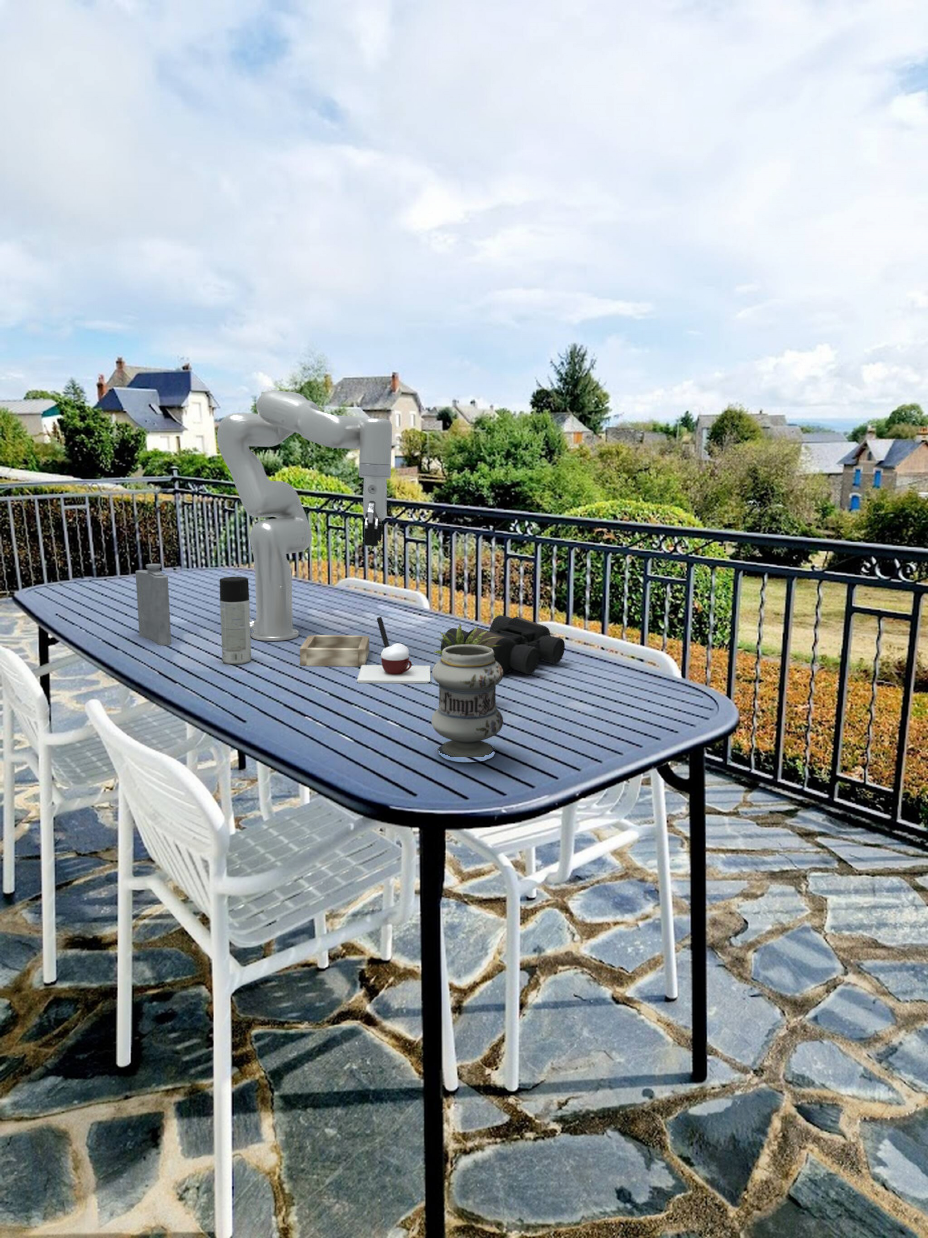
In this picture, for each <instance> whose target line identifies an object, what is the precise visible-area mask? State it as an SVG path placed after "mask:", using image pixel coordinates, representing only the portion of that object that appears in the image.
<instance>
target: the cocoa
mask: <svg viewBox="0 0 928 1238" xmlns="http://www.w3.org/2000/svg"><path fill="white" fill-rule="evenodd" d="M376 621H377V624H378V629H379V632H380V635H381V639H382V643H383V646H384V648H383V650H382V651H381V653H380V659H381V660H380V661H381V665H382V667H383V669H384V670H385V672H387V673H388V674H393V675H397V674H402V673H404V672H406V671H408V670H409V669H410V668H411V666H413V664H412V661H411V660H410V655H409V654H410V653H409V652H410V651H409V648H408V647H407V646H406V645H404V644H402V643H400V642H396V643H393V644H392V645H391V646H390V642H389V638H388V635H387V632H386V627H385V625H384V621H383V618H382V616H379V617H376ZM408 666H409V667H408ZM407 667H408V668H407Z"/></svg>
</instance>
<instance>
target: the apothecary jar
mask: <svg viewBox="0 0 928 1238" xmlns="http://www.w3.org/2000/svg"><path fill="white" fill-rule="evenodd" d="M431 674H432V678H433V680H434V681H435V682H436V683H437V684H438V690H439V691H438V692H439V693H438V694H439V695H438V701H439V702H438V708H437V709H436V710H434V712H433V714H432V716H431V721H430V722H431V726H432V728H433V730H434V731H435V732H436V733H437V734H438V735H440V736H441V737H443V738H445V739H447V740H448V741H445V742H444V743H443V744H444V745H443V744H442V745H440V746H439V747H438V748H439V751H440V753H442V754H445V755H448V756H450V757H484V756H485V755H489V754H491V753H492V752H493V750H494V749H495V747H494V746H493V747H494V748H493V747H492V745H491V744H490V743H488V742H485V741H484V740H488V739H491V738H492V737H494V736H496V735H497V734H498V733H499V732H500V731H501V730H502V728H503V726H504V718H503V715H502V713H501V712H500V711H499V709H498V708H497V701H496V700H497V699H496V693H497V692H496V691H497V687H496V686H497V685H498V684H500V682H502V680H503V677H504V674H503V669H502V667H501V665H500V664H499V663H498V662H496V661H495V658H494V651H493V649H491V648H489V647H486V646H481V645H454V646H449V647H446V648H444V649H443V651H442V655H441V657H440V659H439V660H438V661H437V662H436V663H435V664H434V665H433V667H432V672H431Z"/></svg>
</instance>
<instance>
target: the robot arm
mask: <svg viewBox="0 0 928 1238" xmlns="http://www.w3.org/2000/svg"><path fill="white" fill-rule="evenodd" d="M255 406H256V407H255V408H256V412H257V413H251V412H235V413H230V414H227V415H226V416H224V417H223V418H222V419H221V421H220V423H219V425H218V427H217V428H218V429H217V433H216V436H217V437H216V440H217V446H218V450H219V452H220V454H221V457H222V459H223V460H224V461H223V462H224V463H225V464H226V466H227V468H228V470H229V472H230V474H231V477H232V480H233V483H234V485H235V488H236V491H237V493H238V497H239V498H240V502H241V504H242V506H243V509H244V511H245V512H246V513H247V515H249V516H250V517H253V518H269V519H263V520H261V521H258V522H257V523H255V525H254V526H253V527H252V528H251V530H250V534H249V542H250V548H251V551H252V556H253V564H254V580H255V581H254V583H255V614H256V616H255V617H256V618H255V620H252V621H250V630H252V631H250V637H251V639H252V638H253V639H255V640H257V641H258V640H259V641H265V642H267V641H268V642H278V641H279V642H280V641H286V640H287V641H288V640H292V639H296V638H298V637H299V630H297V629H296V628H293V627H294V624H293V623H294V622H293V621H294V620H293V618H294V617H293V579H292V575H293V574H292V569H291V565H290V563H289V561H288V558H287V556H286V554H294V553H301V552H303V551H305V550H307V549H308V548H309V547H310V545H311V544H312V539H313V538H312V535H313V534H312V530H311V526H310V524H309V523H310V522H309V521H308V518H307V515H306V513H305V510H304V508H303V504H302V501H301V499H300V497H299V494H298V492H297V490H296V489H295V488H294V487H293V486H292V485H291V484H290V483H288V482H285V481H282V480H281V481H280V480H274V481H273V480H271V479H269V478H268V476H267V474H266V471H265V468H264V466H263V463H262V462H261V460H260V459H259V457H258V456H257V455H256V454H255V453H254V452H253V451H252V450H251V449H250V448H249V447H265V448H266V447H267V448H269V447H274V446H278V445H280V444H281V443H283V442H284V441H285V440H286V439H287V438H289V437H290V436H292V435H293V434H294V433H297V434H299V435H300V436H301V437H302V438H303V439H305V440H306V441H310V442H312V443H314V444H315V443H316V444H318V445H321V446H323V447H327V448H332V449H354V450H355V449H357V450H359V464H358V466H359V468H358V477H359V478H361V479H362V478H363V492H362V493H363V494H362V495H363V496H362V498H363V501H362V502H363V503H362V505H363V506H362V510H363V518H364V519H365V526H364V537H363V542H364V543H363V544H364V546H368V547H369V546H370V547H378V545H379V542H381V541H382V537H383V536H382V535H383V524H382V521H384V520H385V519H386V518H387V516H388V515H387V510H388V509H387V503H388V501H387V500H388V499H387V497H388V496H387V495H388V493H387V492H388V491H387V490H388V487H387V484H388V483H387V479H391V477H392V475H391V474H392V471H391V470H392V447H393V446H392V444H393V443H392V441H393V424H392V422H391V420H389V419H386V418H376V417H372V418H371V417H367V418H366V417H365V418H364V417H359V416H350V415H349V416H347V415H336V414H330V413H326V412H324V411H321V410H320V408H319V406H318V405H317V403H315V402H314V401H312V400H309V399H307V398H306V397H305V396H304V395H302V394H300V393H298V392H293V391H292V392H291V391H286V390H285V391H284V390H283V391H282V390H273V389H272V390H267V391H264V392H263V393H262V394H260V395H259V397H258V398H257V400H256V405H255ZM271 517H275V518H271Z"/></svg>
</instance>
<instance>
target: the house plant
mask: <svg viewBox="0 0 928 1238" xmlns="http://www.w3.org/2000/svg"><path fill="white" fill-rule="evenodd" d="M477 628H479V625H477V626H476V627H475V628H473V629H474V630H473V632H472V633H471V634H470V635H469V637H468V638H467V640H466V642H465V644H464V645H476V644H477V643H478V642H479V641H480V640H481V638H482V636H483V635H484V634H485V633H486V632H487V631H490V629H488V630H487V631H485V632H483V633H481V634H480V635H478V636H477V637H476V639H474V641H473V640H472V638H473V636H474V633H475V632H476V630H477ZM456 629H457V633H456V639H455V637H454V636H453V635H452V634H451V633H449V634H451V635H452V637H453V638H454V640H455V645H463V641H464V636H463V634H462V630H463V629H462V623H459V625H458V628H456ZM439 633H440V636H441V639H443V640H444V641H445V642H446V643H447V644H448V646H453V645H452V643H451V641H450V640H449V639H448V638H447V636H446V635H445V634H444V633H443V632H441V631H439ZM445 633H448V632H447V631H445ZM491 638H496V637H491ZM441 639H440V637H436V640H438V641H439V642H442V640H441ZM487 639H490V638H487ZM487 639H484V640H483V641H485V640H487ZM483 641H481V642H483ZM481 642H480V643H481ZM486 642H492V641H485V642H483V643H482V644H484V643H486ZM442 644H443V642H442ZM478 644H479V643H478ZM478 644H477V645H478ZM482 644H481V645H482ZM443 645H444V644H443ZM444 646H445V645H444ZM494 646H500V645H487V646H486V647H494ZM445 647H446V646H445ZM433 653H436V654H438V655H440V656H442V651H441V649H440V650H435V651H433Z"/></svg>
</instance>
